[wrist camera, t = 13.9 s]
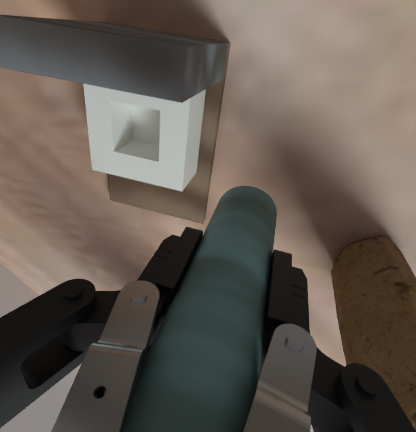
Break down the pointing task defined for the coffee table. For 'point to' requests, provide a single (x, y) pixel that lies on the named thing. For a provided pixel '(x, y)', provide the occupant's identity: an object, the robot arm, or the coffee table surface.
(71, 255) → the coffee table surface
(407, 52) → the coffee table surface
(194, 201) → the jig
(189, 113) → the socket
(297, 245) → the coffee table surface
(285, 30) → the coffee table surface
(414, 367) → the brown rounded block
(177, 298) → the dowel
